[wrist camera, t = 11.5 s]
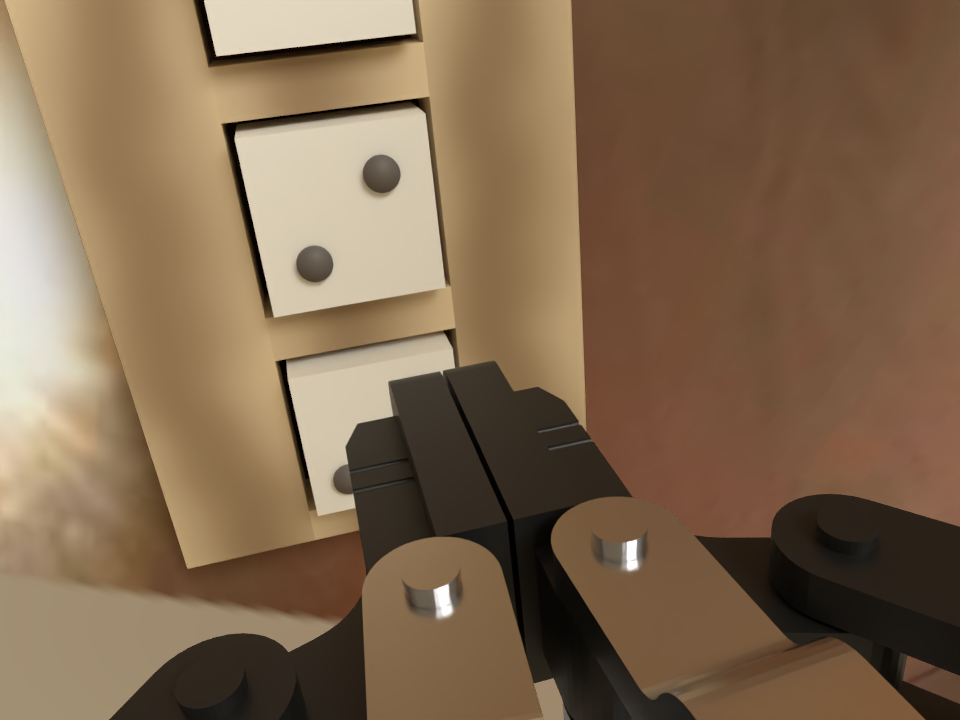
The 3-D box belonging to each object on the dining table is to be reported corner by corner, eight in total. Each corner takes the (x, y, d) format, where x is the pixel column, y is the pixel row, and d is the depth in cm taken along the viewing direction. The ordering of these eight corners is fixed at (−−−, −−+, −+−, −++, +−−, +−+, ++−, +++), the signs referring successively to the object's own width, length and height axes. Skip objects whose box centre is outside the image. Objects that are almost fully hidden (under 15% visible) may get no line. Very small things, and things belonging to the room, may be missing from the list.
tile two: (410, 101, 24) (426, 114, 21) (430, 262, 26) (446, 289, 24) (236, 124, 23) (234, 140, 20) (272, 289, 25) (274, 320, 23)
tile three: (437, 319, 27) (454, 351, 24) (452, 446, 29) (469, 486, 27) (285, 347, 26) (287, 382, 24) (313, 476, 28) (318, 519, 26)
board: (535, -260, 21) (561, -281, 19) (569, 450, 31) (588, 478, 29) (-46, -230, 19) (-77, -252, 17) (192, 532, 28) (187, 568, 27)
